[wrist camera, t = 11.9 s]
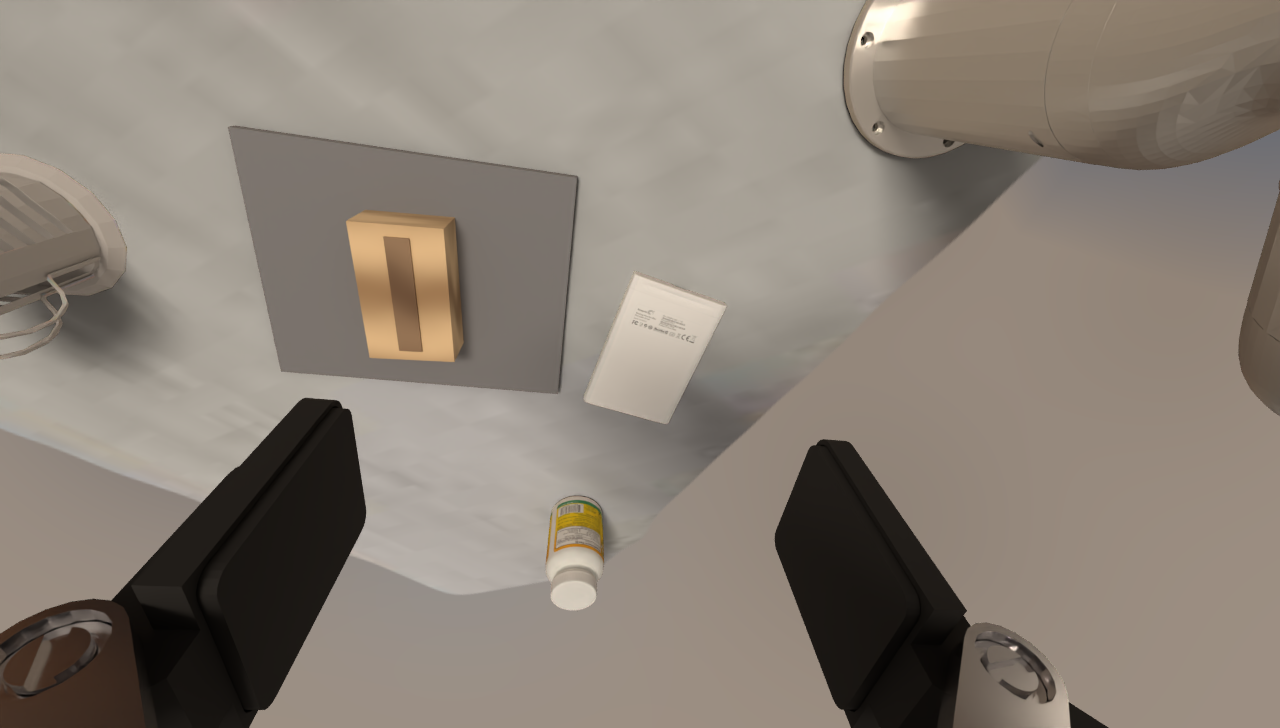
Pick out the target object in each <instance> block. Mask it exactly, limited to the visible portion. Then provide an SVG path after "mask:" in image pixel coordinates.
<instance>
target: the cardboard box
mask: <svg viewBox="0 0 1280 728" xmlns="http://www.w3.org/2000/svg"><path fill="white" fill-rule="evenodd" d="M346 225H347V231H348V236H349V242H350V248H351V253H352V259H353V265H354V271H355V276H356V282H357V288H358V294H359V299H360V305H361V311H362V316H363V322H364V328H365V334H366V339H367V345H368V351H369V357H370V358H381V359H402V360H422V361H443V362H455V360H456V358H457V356H458V354H459V351H460V349H461V347H462V345H463V343H464V340H463V326H462V312H461V298H460V283H459V269H458V255H457V241H456V227H455V217H445V216H433V215H422V214H410V213H398V212H386V211H374V210H364V211H362V212H360V213H359V214H357V215H355V216H354V217H352V218H350V219H348V220H347V221H346Z"/></svg>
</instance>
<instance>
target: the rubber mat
mask: <svg viewBox="0 0 1280 728" xmlns="http://www.w3.org/2000/svg"><path fill="white" fill-rule="evenodd" d="M228 129H229V134H230V139H231V143H232V148H233V152H234V157H235V162H236V166H237V171H238V175H239V180H240V185H241V189H242V194H243V198H244V203H245V208H246V212H247V217H248V221H249V226H250V231H251V235H252V240H253V244H254V249H255V254H256V258H257V263H258V267H259V272H260V277H261V281H262V286H263V290H264V295H265V300H266V304H267V309H268V313H269V318H270V323H271V327H272V332H273V336H274V341H275V346H276V350H277V355H278V359H279V364H280V369H281V371H282V372H294V373H306V374H319V375H331V376H343V377H356V378H368V379H380V380H393V381H405V382H417V383H429V384H442V385H454V386H466V387H479V388H491V389H503V390H516V391H528V392H540V393H553V394H558V386H559V375H560V363H561V352H562V341H563V330H564V319H565V308H566V297H567V285H568V274H569V263H570V252H571V241H572V230H573V219H574V207H575V196H576V185H577V176H574V175H567V174H560V173H553V172H547V171H540V170H533V169H526V168H519V167H512V166H506V165H499V164H492V163H485V162H478V161H472V160H465V159H458V158H451V157H444V156H438V155H431V154H424V153H417V152H410V151H404V150H397V149H390V148H383V147H376V146H370V145H363V144H356V143H349V142H342V141H336V140H329V139H322V138H315V137H308V136H302V135H295V134H288V133H281V132H274V131H268V130H261V129H254V128H247V127H240V126H230V127H228ZM364 210H374V211H386V212H398V213H410V214H422V215H433V216H445V217H455V227H456V241H457V255H458V269H459V283H460V298H461V312H462V326H463V340H464V343H463V345H462V347H461V349H460V351H459V354H458V356H457V358H456V360H455V362H443V361H422V360H402V359H381V358H370V357H369V351H368V345H367V339H366V334H365V328H364V322H363V316H362V311H361V305H360V299H359V294H358V288H357V282H356V276H355V271H354V265H353V259H352V253H351V248H350V242H349V236H348V231H347V225H346V221H347V220H348V219H350V218H352V217H354V216H355V215H357V214H359V213H360V212H362V211H364Z"/></svg>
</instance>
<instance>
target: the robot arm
mask: <svg viewBox="0 0 1280 728" xmlns="http://www.w3.org/2000/svg"><path fill="white" fill-rule="evenodd" d="M862 37H863V38H864V43H863V44H862V45H861V38H862ZM844 91H845V97H846V104H847V107H848V109H849V112H850V115H851V118H852V120H853V122H854V124H855V125H856V127H857V128H858V130H859V132H860V133H861V134H862V135H863V136H864V137H865V138H866V139H867V140H868V141H869V142H870V143H871V144H872V145H874V146H875V147H877V148H879V149H880V150H882V151H884V152H887V153H890V154H893V155H896V156H902V157H907V158H928V157H932V156H936V155H940V154H944V153H946V152H949V151H951V150H953V149H955V148H958V147H960V146H962V145H963V144H965V143H969V144H975V145H981V146H987V147H993V148H999V149H1005V150H1011V151H1017V152H1022V153H1028V154H1034V155H1040V156H1046V157H1052V158H1058V159H1064V160H1070V161H1076V162H1082V163H1088V164H1094V165H1102V166H1109V167H1114V168H1122V169H1134V170H1151V169H1152V170H1153V169H1166V168H1172V167H1178V166H1183V165H1188V164H1192V163H1197V162H1201V161H1204V160H1207V159H1210V158H1213V157H1216V156H1219V155H1221V154H1224V153H1227V152H1229V151H1232V150H1234V149H1238V148H1240V147H1243V146H1245V145H1247V144H1249V143H1252V142H1254V141H1256V140H1258V139H1260V138H1262V137H1264V136H1266V135H1268V134H1271V133H1273V132H1275V131H1277V130H1279V129H1280V0H867V1H866V2H865V4H864V6H863V8H862V10H861V12H860V14H859V16H858V18H857V20H856V22H855V25H854V28H853V31H852V34H851V37H850V40H849V43H848V47H847V52H846V58H845V63H844ZM874 124H875V128H874V130H872V127H873V125H874ZM1279 190H1280V181H1279ZM1239 360H1240V365H1241V370H1242V373H1243V375H1244V377H1245V379H1246V381H1247V383H1248V385H1249V387H1250V389H1251V390H1252V391H1253V392H1254V394H1255V395H1256V396H1257V397H1258V398H1259V399H1260V400H1261V401H1262V402H1263V403H1264V404H1265V405H1266V406H1267V407H1268V408H1270V409H1271V410H1272V411H1273V412H1274V413H1276V414H1277V415H1279V416H1280V192H1279V195H1278V199H1277V202H1276V206H1275V209H1274V213H1273V216H1272V219H1271V223H1270V226H1269V229H1268V233H1267V236H1266V240H1265V243H1264V246H1263V250H1262V253H1261V257H1260V260H1259V263H1258V267H1257V270H1256V274H1255V277H1254V281H1253V284H1252V287H1251V291H1250V294H1249V297H1248V302H1247V306H1246V309H1245V313H1244V316H1243V321H1242V327H1241V332H1240V337H1239ZM365 519H366V506H365V499H364V493H363V486H362V480H361V473H360V467H359V460H358V453H357V447H356V440H355V434H354V427H353V421H352V415H351V412H350V410H349V409H343V408H342V405H341V403H340V402H339V401H337V400H326V399H313V398H304V399H302V400H300V401H299V402H298V403H297V404H296V405H295V406H294V407H293V409H292V410H291V411H290V412H289V413H288V414H287V415H286V416H285V417H284V418H283V419H282V421H281V422H280V423H279V424H278V425H277V426H276V427H275V428H274V429H273V430H272V431H271V433H270V434H269V435H268V436H267V437H266V438H265V439H264V440H263V441H262V442H261V443H260V445H259V446H258V447H257V448H256V449H255V450H254V451H253V452H252V453H251V454H250V456H249V457H248V458H247V459H246V460H245V461H244V462H243V463H242V464H241V465H240V466H239V467H237V468H235V469H234V470H233V471H231V472H230V473H229V474H228V475H227V476H226V477H225V478H224V479H223V480H222V482H221V483H220V484H219V485H218V486H217V487H216V488H215V489H214V490H213V491H212V492H211V493H210V494H209V496H208V497H207V498H206V499H205V500H204V501H203V502H202V503H201V504H200V505H199V506H198V507H197V509H196V510H195V511H194V512H193V513H192V514H191V515H190V516H189V517H188V518H187V519H186V521H185V522H184V523H183V524H182V525H181V526H180V527H179V528H178V529H177V530H176V531H175V532H174V533H173V535H172V536H171V537H170V538H169V539H168V540H167V541H166V542H165V543H164V544H163V545H162V546H161V547H160V549H159V550H158V551H157V552H156V553H155V554H154V555H153V556H152V557H151V558H150V559H149V560H148V562H147V563H146V564H145V565H144V566H143V567H142V568H141V569H140V570H139V571H138V572H137V574H135V576H134V577H133V578H132V579H131V580H130V581H129V582H128V583H127V584H126V585H125V586H124V588H123V589H122V590H121V591H120V592H119V593H118V594H117V595H116V596H115V597H114V598H113V599H112V600H111V601H110V600H101V599H87V600H80V601H72V602H68V603H65V604H62V605H59V606H55V607H52V608H49V609H45V610H44V611H41V612H39V613H37V614H35V615H32V616H30V617H28V618H26V619H24V620H22V621H19V622H18V623H16V624H15V625H13V626H11V627H10V628H8V629H7V630H5V631H4V632H2V633H0V728H249V726H250V724H251V723H252V721H253V719H254V717H255V715H256V713H257V711H258V710H265V709H267V708H268V707H269V706H270V705H271V704H272V702H273V701H274V699H275V697H276V695H277V694H278V692H279V690H280V688H281V686H282V684H283V682H284V680H285V678H286V676H287V674H288V672H289V670H290V668H291V666H292V664H293V663H294V661H295V658H296V657H297V655H298V653H299V651H300V649H301V647H302V645H303V643H304V641H305V639H306V637H307V635H308V634H309V632H310V630H311V628H312V626H313V624H314V622H315V620H316V618H317V616H318V614H319V612H320V610H321V608H322V606H323V605H324V603H325V601H326V599H327V597H328V595H329V593H330V591H331V589H332V587H333V585H334V583H335V581H336V579H337V577H338V576H339V574H340V572H341V570H342V568H343V566H344V564H345V562H346V560H347V558H348V556H349V554H350V552H351V550H352V548H353V547H354V545H355V543H356V541H357V539H358V537H359V535H360V533H361V531H362V529H363V526H364V523H365ZM775 546H776V550H777V552H778V555H779V558H780V560H781V563H782V565H783V568H784V571H785V573H786V576H787V579H788V581H789V584H790V587H791V589H792V592H793V595H794V597H795V600H796V603H797V605H798V608H799V610H800V613H801V616H802V618H803V621H804V624H805V626H806V629H807V632H808V634H809V637H810V639H811V642H812V645H813V647H814V650H815V653H816V655H817V658H818V660H819V663H820V666H821V668H822V671H823V673H824V676H825V679H826V681H827V684H828V687H829V689H830V692H831V695H832V697H833V700H834V702H835V704H836V705H837V706H838V708H840V709H843V710H844V711H845V714H846V716H847V719H848V721H849V724H850V726H851V728H1108V727H1107V726H1105V725H1103V724H1102V723H1100V722H1099V721H1097V720H1096V719H1094V718H1093V717H1091V716H1089V715H1088V714H1086V713H1085V712H1083V711H1082V710H1080V709H1078V708H1077V707H1075V706H1074V705H1072V704H1071V703H1069V702H1068V694H1067V691H1066V687H1065V683H1064V682H1063V680H1062V678H1061V676H1060V675H1059V673H1058V671H1057V670H1056V668H1055V667H1054V666H1053V665H1052V664H1051V663H1050V661H1049V660H1048V659H1047V658H1046V656H1045V655H1044V654H1043V653H1041V652H1040V651H1039V650H1038V649H1037V648H1036V647H1035V646H1033V645H1032V644H1031V643H1030V642H1029V641H1027V640H1026V639H1024V638H1022V637H1021V636H1019V635H1018V634H1016V633H1015V632H1013V631H1010V630H1008V629H1006V628H1004V627H1002V626H999V625H995V624H990V623H976V624H974V625H972V626H970V624H969V623H968V622H967V620H966V619H965V617H964V616H963V615H964V614H965V613H966V611H967V610H966V609H965V607H964V606H963V604H962V603H961V602H960V600H959V599H958V597H957V596H956V594H955V593H954V592H953V590H952V588H951V587H950V586H949V584H948V583H947V581H946V580H945V578H944V577H943V576H942V574H941V573H940V571H939V570H938V568H937V567H936V565H935V564H934V563H933V561H932V560H931V558H930V557H929V555H928V554H927V552H926V551H925V549H924V548H923V547H922V545H921V544H920V542H919V541H918V539H917V538H916V536H915V535H914V534H913V532H912V531H911V529H910V528H909V526H908V525H907V523H906V522H905V521H904V519H903V518H902V516H901V515H900V513H899V512H898V510H897V509H896V508H895V506H894V505H893V503H892V502H891V501H890V499H889V498H888V496H887V495H886V493H885V492H884V490H883V489H882V487H881V486H880V485H879V483H878V482H877V480H876V479H875V477H874V476H873V474H872V473H871V471H870V470H869V469H868V467H867V466H866V464H865V463H864V461H863V460H862V458H861V457H860V456H859V454H858V453H857V451H856V450H855V448H854V447H853V446H852V444H851V443H849V442H847V441H836V440H824V439H823V440H820V441H819V442H818V443H817V445H814V446H811V447H810V448H809V450H808V453H807V455H806V458H805V460H804V462H803V465H802V467H801V470H800V472H799V475H798V478H797V480H796V482H795V485H794V487H793V490H792V493H791V495H790V498H789V500H788V502H787V505H786V507H785V510H784V512H783V515H782V517H781V520H780V522H779V525H778V527H777V530H776V533H775Z"/></svg>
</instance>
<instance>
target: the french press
mask: <svg viewBox="0 0 1280 728" xmlns="http://www.w3.org/2000/svg"><path fill="white" fill-rule="evenodd" d="M126 251H127V247H126V245H125V242H124V240H123V237H122V235H121V232H120V230H119V228H118V225H117V223H116V220H115V219H114V218H113V217H112V215H111V214H110V213H109V212H108V211H107V210H106V208H105V207H104V206H103V205H102V204H101V202H100V201H99V200H98V199H97V198H96V197H95V195H94V194H93V193H92V192H91V191H89V190H88V189H86V188H85V187H84V186H82V185H81V184H79V183H78V182H77V181H75V180H74V179H72V178H71V177H70V176H68V175H67V174H65V173H64V172H62V171H61V170H60V169H57V168H55V167H52V166H49V165H47V164H44V163H42V162H39V161H37V160H34V159H32V158H29V157H27V156H24V155H14V154H1V153H0V301H6V302H11V303H8V304H6V305H0V315H2V314H5V313H7V312H10V311H12V310H15V309H17V308H20V307H22V306H25V305H27V304H30V303H32V302H35V301H37V300H40V299H41V301H42V302H43V303H44V304H45V305H46V306H47V308H48V309H49V310H50V311H51V312H52V313H53V315H54V316H53V317H52V318H51V319H50V320H49V321H46V322H44V323H42V324H39V325H37V326H35V327H32V328H30V329H27V330H23V331H18V332H12V333H6V334H0V339H7V338H12V337H16V336H21V335H26V334H31V333H33V332H36V331H38V330H40V329H43V328H45V327H47V326H49V325H52V324H54V323H56V325H55V327H54V328H53V330H52V331H51V333H50V335H49V336H48V337H46V338H44V339H42V340H40V341H39V342H37V343H35V344H33V345H31V346H30V347H28V348H26V349H24V350H21V351H16V352H12V353H8V354H4V355H0V359H6V358H11V357H16V356H21V355H25V354H27V353H29V352H31V351H33V350H35V349H37V348H39V347H41V346H44V345H46V344H48V343H49V342H50V341H51V340H52V339H53V338H54V337H55V336H57V335H58V333H59V331H60V329H61V326H62V324H63V323H62V320H61V317H62V316H63V315H64V313H65V311H66V310H67V308H68V306H69V304H68V301H67V299H66V296H65V295H84V296H90V295H93V294H95V293H98V292H101V291H104V290H107V289H110V288H112V287H113V286H114V285H115V283H116V282H117V281H118V279H119V278H120V277H121V276H122V274H123V273H124V272H125V267H126ZM55 293H57V294H60V296H61V300H62V303H63V304H62V306H61V307H60V309H59V311H57V310H56V309H55V308H54V307H53V306H52V305H51V304H50V303H49V302H48V301H47V297H48V296H50V295H52V294H55ZM9 294H25V295H29V296H26V297H24V298H19V297H6V296H7V295H9Z"/></svg>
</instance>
